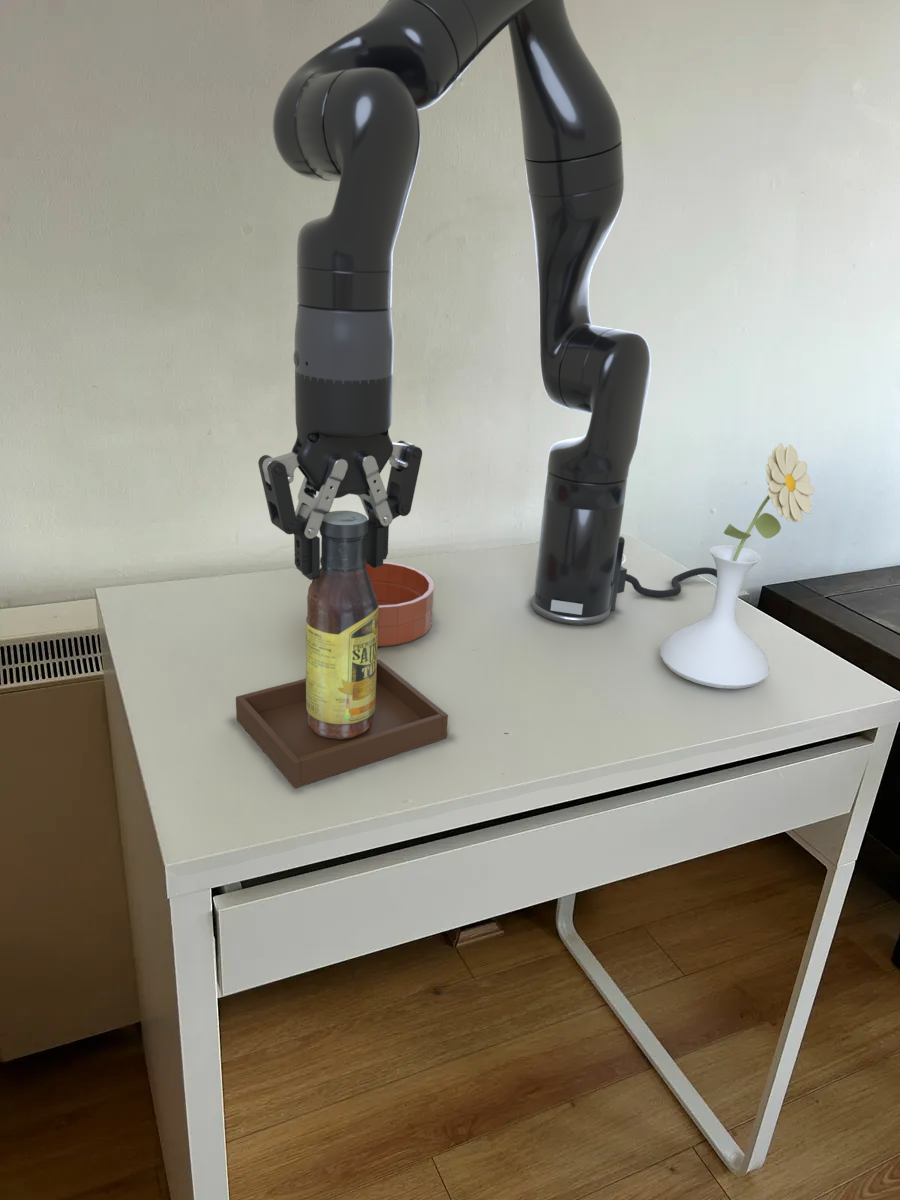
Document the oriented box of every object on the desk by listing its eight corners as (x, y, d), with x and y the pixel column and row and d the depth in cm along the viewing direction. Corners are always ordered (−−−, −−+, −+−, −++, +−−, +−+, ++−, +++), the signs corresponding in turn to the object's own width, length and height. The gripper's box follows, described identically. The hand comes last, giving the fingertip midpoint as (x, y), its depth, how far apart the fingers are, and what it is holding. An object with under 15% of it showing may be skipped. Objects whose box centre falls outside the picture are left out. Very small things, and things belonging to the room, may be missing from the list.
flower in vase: (699, 706, 90) (747, 463, 80) (637, 655, 100) (673, 432, 89) (802, 688, 95) (859, 457, 85) (733, 641, 104) (777, 428, 94)
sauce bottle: (363, 748, 79) (368, 535, 71) (296, 737, 80) (292, 526, 72) (383, 711, 85) (389, 510, 77) (320, 701, 86) (319, 502, 78)
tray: (378, 680, 91) (379, 658, 90) (446, 738, 82) (448, 714, 81) (236, 719, 83) (235, 696, 82) (294, 788, 74) (294, 763, 73)
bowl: (393, 591, 112) (394, 554, 110) (454, 633, 102) (456, 593, 100) (296, 612, 105) (295, 573, 103) (351, 659, 95) (352, 616, 93)
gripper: (278, 381, 63) (283, 602, 70) (448, 370, 70) (437, 570, 77) (236, 363, 68) (244, 569, 75) (398, 355, 76) (392, 543, 83)
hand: (342, 569), depth 76 cm, fingers open, 5 cm apart
